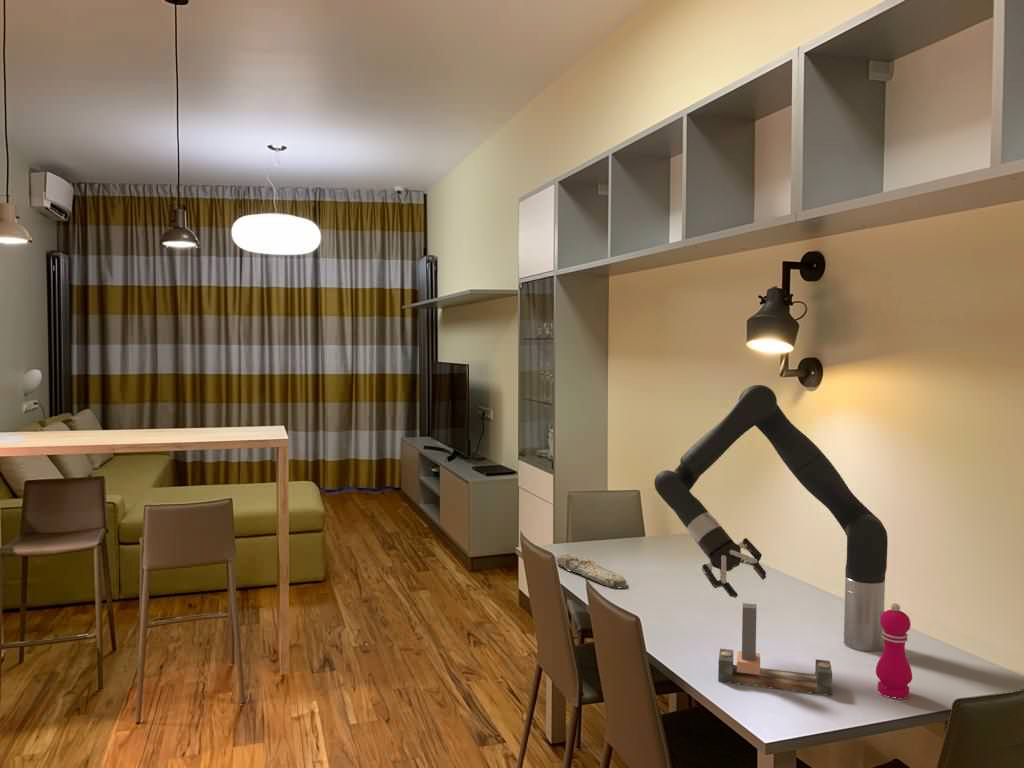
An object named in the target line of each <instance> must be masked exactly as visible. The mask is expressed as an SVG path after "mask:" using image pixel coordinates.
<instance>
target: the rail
mask: <svg viewBox="0 0 1024 768" xmlns="http://www.w3.org/2000/svg"><path fill="white" fill-rule="evenodd" d="M832 670H833V669H832V665H831V660H826V659H815V670H814V671H815V672H814V673H815V674H814V673H807V672H798V671H790V670H788V671H787V670H783V669H782V670H781V669H773V668H765V667H760V675H758V674H750V673H741V672H737V664H734V649H727V648H720V649H719V656H718V673H717V675H718V678H717V679H718V681H717V682H719V681H722V682H721V683H727V682H731V683H730V684H735V683H740V684H739V685H743V684H749V685H748V686H751V685H757V686H756V687H759V686H765V687H764V688H767V687H772V688H771V689H774V688H779V689H778V690H782V689H786V690H785V691H790V690H795V691H794V692H798V691H803V692H802V693H806V692H811V693H810V694H814V693H819V694H818V695H822V694H827V695H826V696H830V695H832V696H833V671H832Z"/></svg>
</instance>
